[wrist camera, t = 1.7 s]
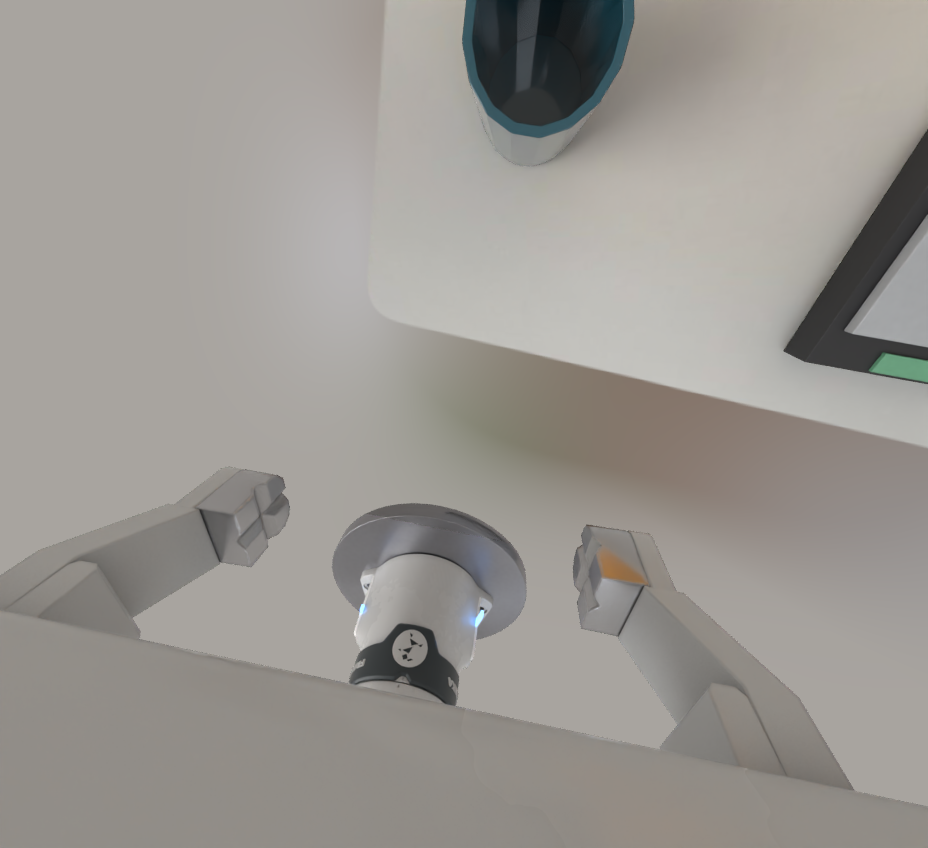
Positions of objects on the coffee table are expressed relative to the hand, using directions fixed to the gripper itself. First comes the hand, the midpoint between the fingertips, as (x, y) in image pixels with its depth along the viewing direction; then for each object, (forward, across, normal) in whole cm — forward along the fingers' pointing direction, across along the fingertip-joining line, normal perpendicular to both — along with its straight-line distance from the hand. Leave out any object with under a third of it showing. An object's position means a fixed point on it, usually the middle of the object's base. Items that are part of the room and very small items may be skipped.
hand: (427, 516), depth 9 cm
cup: (+22, +1, +14) cm, 27 cm away
